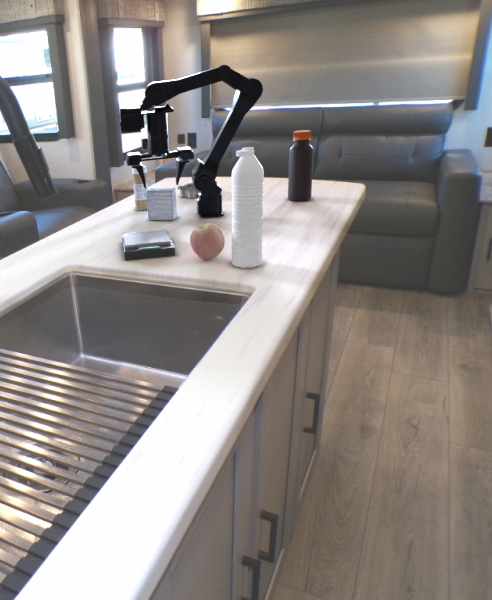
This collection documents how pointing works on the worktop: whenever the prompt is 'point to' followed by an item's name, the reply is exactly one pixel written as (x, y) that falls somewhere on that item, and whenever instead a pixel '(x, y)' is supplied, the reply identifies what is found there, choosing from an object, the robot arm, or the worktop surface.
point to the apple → (207, 241)
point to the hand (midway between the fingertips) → (161, 186)
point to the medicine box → (161, 203)
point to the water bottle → (247, 210)
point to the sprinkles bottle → (140, 189)
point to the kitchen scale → (147, 244)
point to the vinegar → (300, 167)
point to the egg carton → (189, 191)
